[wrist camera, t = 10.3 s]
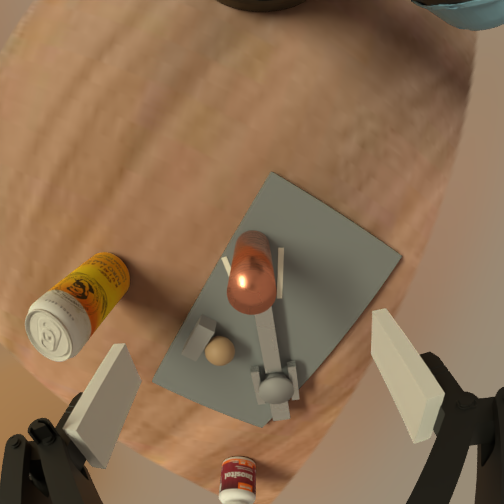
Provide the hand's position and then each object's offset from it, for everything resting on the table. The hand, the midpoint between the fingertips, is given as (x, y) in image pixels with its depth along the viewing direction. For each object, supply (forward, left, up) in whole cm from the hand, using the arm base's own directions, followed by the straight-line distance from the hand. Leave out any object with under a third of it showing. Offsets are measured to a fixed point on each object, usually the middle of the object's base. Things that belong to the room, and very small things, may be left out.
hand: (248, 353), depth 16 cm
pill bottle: (+37, +19, -21) cm, 47 cm away
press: (+8, +7, -21) cm, 23 cm away
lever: (+9, +8, -19) cm, 22 cm away
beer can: (+12, -13, -21) cm, 28 cm away
